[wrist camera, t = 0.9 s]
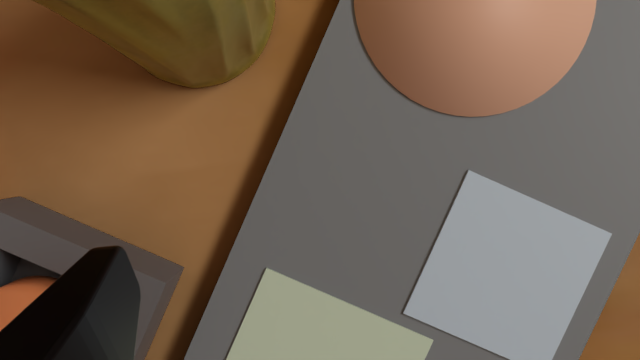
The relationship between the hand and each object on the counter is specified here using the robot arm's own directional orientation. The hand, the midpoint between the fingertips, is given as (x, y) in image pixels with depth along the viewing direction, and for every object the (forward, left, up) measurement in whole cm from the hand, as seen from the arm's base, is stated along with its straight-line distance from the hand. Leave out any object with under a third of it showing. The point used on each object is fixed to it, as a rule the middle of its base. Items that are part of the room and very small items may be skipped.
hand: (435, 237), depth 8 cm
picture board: (-1, -3, -13) cm, 14 cm away
